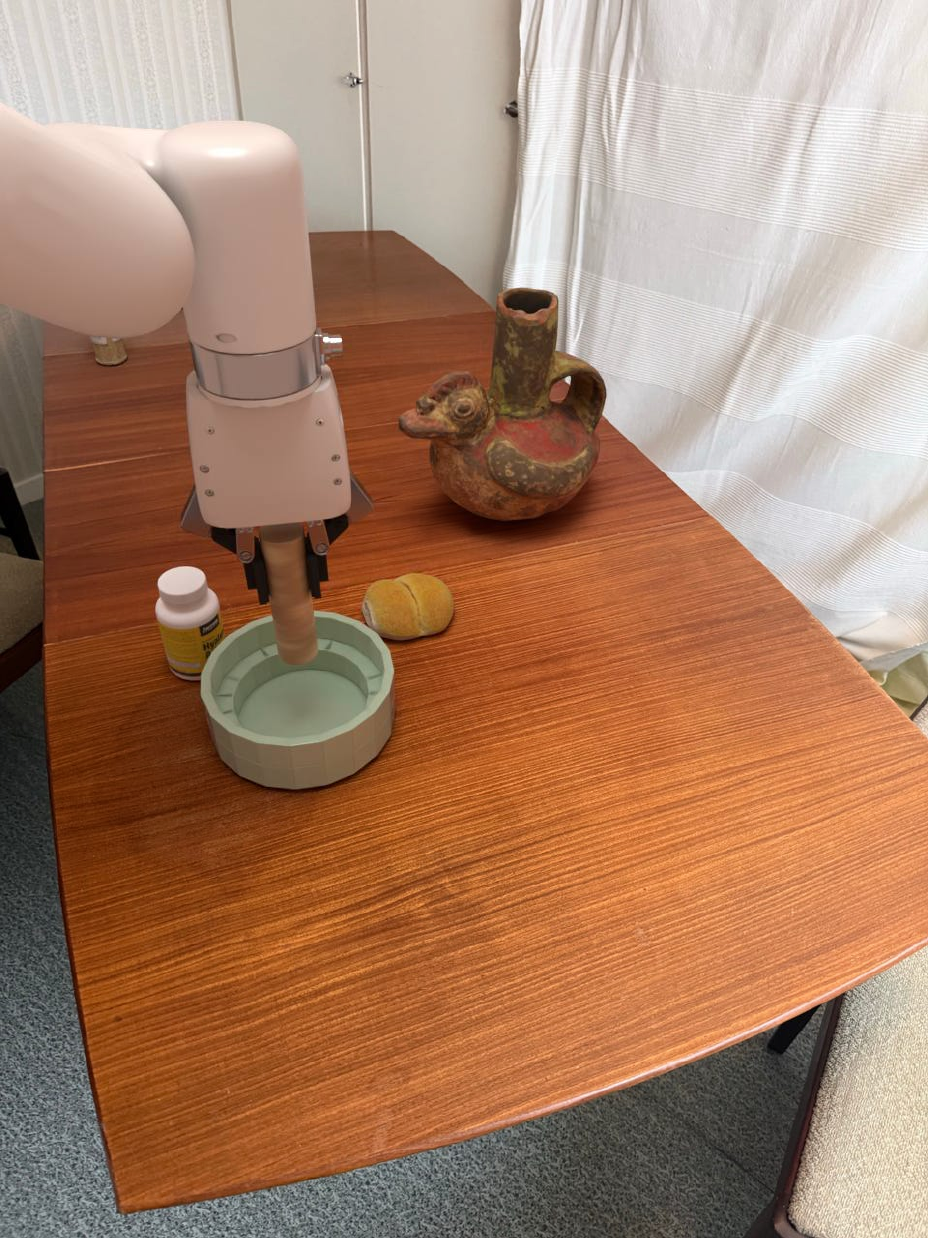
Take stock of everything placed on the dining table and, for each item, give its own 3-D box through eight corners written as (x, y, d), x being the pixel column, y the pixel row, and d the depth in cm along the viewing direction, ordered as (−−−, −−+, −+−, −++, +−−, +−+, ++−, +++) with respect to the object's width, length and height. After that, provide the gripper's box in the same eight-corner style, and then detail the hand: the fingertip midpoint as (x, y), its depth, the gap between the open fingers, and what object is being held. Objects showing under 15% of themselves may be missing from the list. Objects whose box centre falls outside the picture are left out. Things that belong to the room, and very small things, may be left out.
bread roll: (465, 631, 82) (466, 600, 79) (378, 651, 79) (377, 620, 77) (436, 581, 88) (437, 551, 85) (354, 599, 85) (352, 568, 82)
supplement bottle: (217, 686, 75) (198, 604, 69) (160, 678, 76) (136, 595, 69) (238, 646, 79) (222, 564, 73) (184, 638, 80) (163, 557, 73)
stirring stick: (279, 668, 66) (259, 545, 58) (277, 640, 68) (257, 519, 60) (319, 662, 66) (305, 541, 58) (316, 636, 69) (302, 515, 61)
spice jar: (133, 360, 124) (111, 268, 115) (104, 369, 122) (79, 275, 113) (118, 350, 127) (96, 259, 118) (90, 358, 124) (64, 266, 115)
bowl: (212, 807, 65) (198, 758, 61) (213, 669, 77) (202, 620, 73) (407, 777, 68) (407, 729, 64) (381, 649, 80) (379, 601, 76)
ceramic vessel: (369, 502, 98) (360, 288, 82) (548, 451, 109) (572, 252, 92) (440, 582, 87) (446, 354, 71) (631, 517, 98) (675, 305, 81)
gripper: (382, 326, 55) (390, 549, 67) (121, 340, 52) (178, 571, 64) (400, 376, 49) (405, 609, 62) (109, 396, 46) (175, 636, 59)
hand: (289, 588), depth 63 cm, fingers closed on stirring stick, 3 cm apart
